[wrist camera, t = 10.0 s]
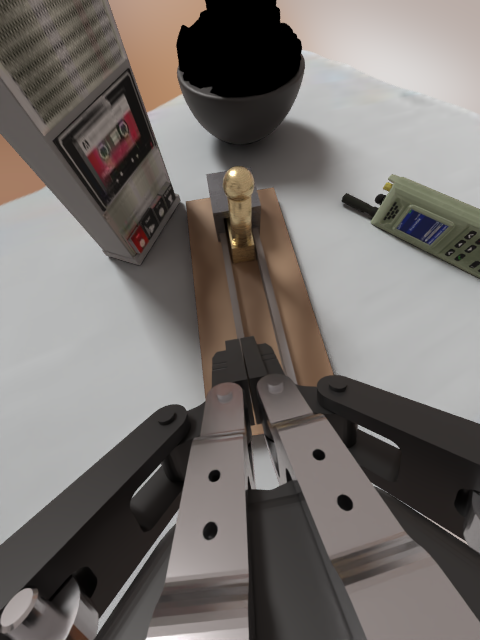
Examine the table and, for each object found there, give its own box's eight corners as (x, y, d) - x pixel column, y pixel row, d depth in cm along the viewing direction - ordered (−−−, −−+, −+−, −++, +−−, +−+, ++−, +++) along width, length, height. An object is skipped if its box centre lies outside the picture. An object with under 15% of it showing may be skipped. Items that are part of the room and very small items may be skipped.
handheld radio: (504, 296, 30) (334, 210, 37) (511, 280, 31) (345, 199, 38) (569, 263, 24) (352, 168, 31) (576, 244, 25) (363, 156, 32)
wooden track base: (213, 441, 25) (207, 444, 22) (188, 211, 38) (182, 192, 35) (340, 418, 25) (353, 418, 22) (272, 198, 39) (274, 177, 35)
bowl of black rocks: (202, 180, 41) (165, 7, 24) (184, 117, 49) (147, -47, 32) (309, 156, 42) (349, -25, 25) (275, 99, 50) (288, -70, 33)
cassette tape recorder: (142, 267, 35) (-78, -36, 12) (107, 256, 36) (-157, -39, 13) (182, 202, 39) (84, -102, 16) (150, 194, 40) (17, -100, 17)
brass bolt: (233, 266, 31) (223, 183, 20) (224, 219, 34) (211, 126, 23) (255, 263, 31) (257, 177, 20) (244, 216, 35) (241, 121, 24)
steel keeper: (218, 241, 33) (212, 213, 28) (212, 205, 36) (206, 174, 31) (259, 235, 33) (261, 205, 29) (250, 199, 36) (250, 167, 31)
